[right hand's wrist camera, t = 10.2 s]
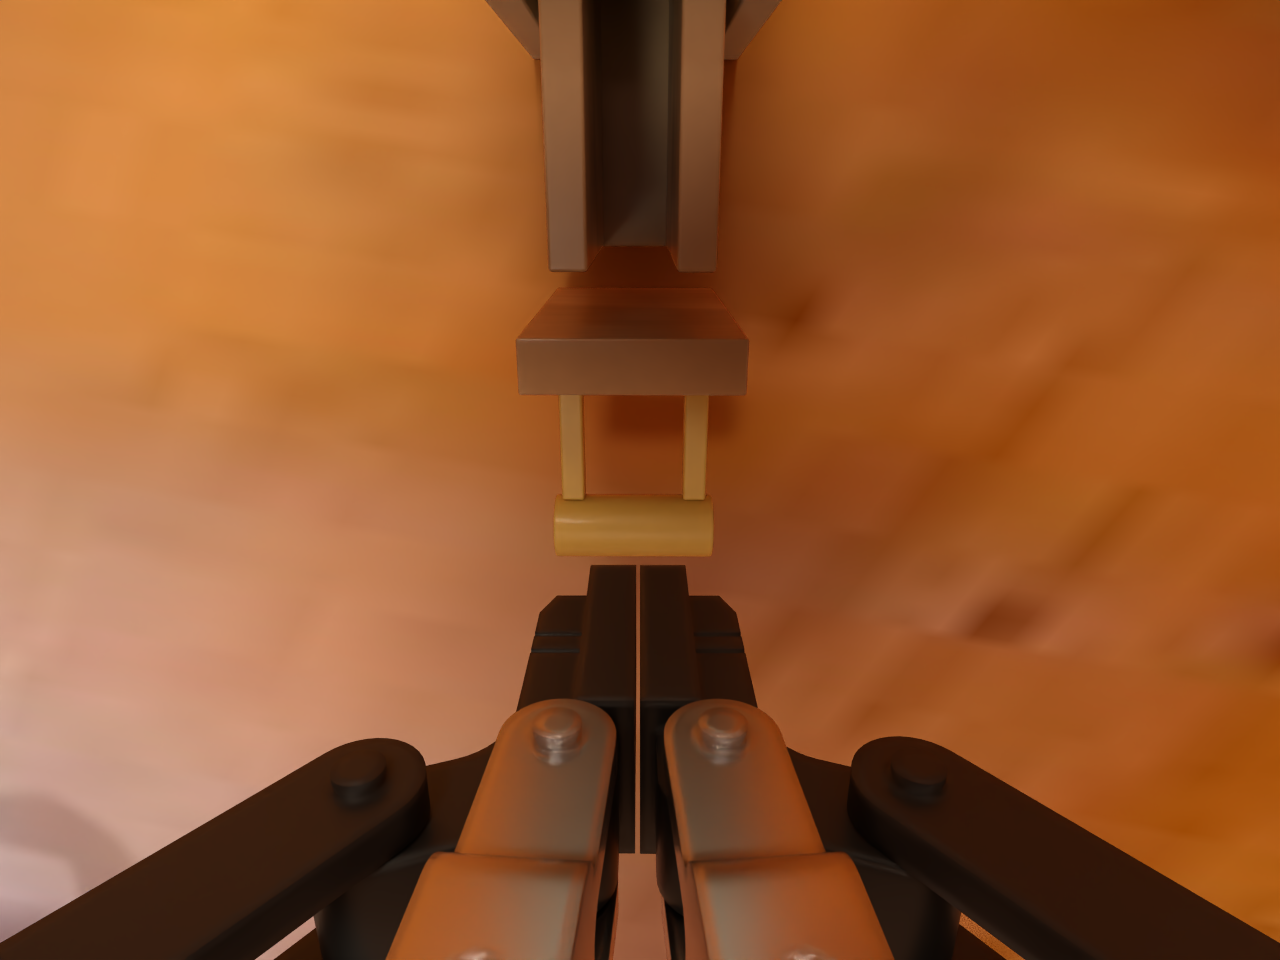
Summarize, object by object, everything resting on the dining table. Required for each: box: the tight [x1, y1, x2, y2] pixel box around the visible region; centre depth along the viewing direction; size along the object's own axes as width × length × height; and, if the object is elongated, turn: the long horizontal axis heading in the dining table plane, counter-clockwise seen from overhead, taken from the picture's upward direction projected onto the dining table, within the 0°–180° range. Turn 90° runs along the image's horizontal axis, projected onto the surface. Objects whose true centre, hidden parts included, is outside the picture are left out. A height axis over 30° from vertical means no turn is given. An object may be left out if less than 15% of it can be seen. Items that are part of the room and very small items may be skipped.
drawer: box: [516, 0, 749, 556], centre depth 18 cm, size 22×5×9 cm, turn 0°
